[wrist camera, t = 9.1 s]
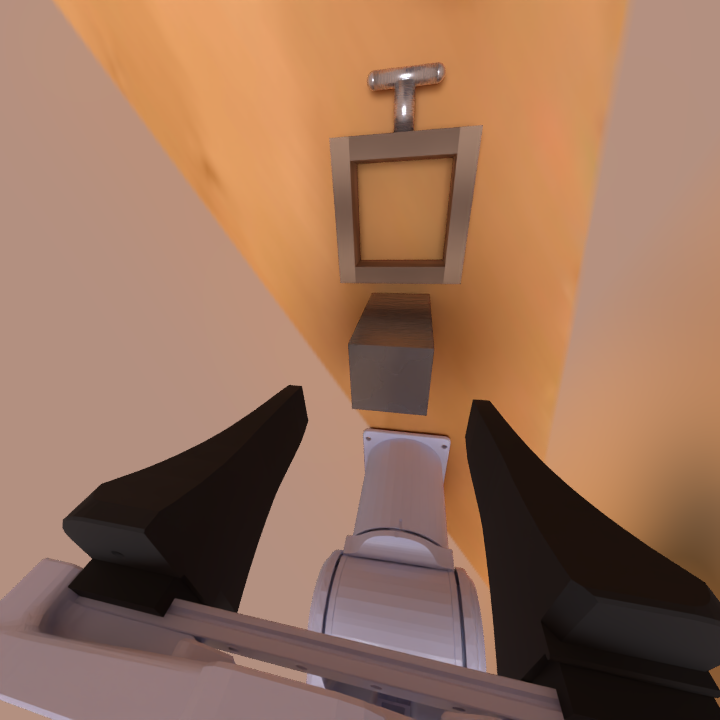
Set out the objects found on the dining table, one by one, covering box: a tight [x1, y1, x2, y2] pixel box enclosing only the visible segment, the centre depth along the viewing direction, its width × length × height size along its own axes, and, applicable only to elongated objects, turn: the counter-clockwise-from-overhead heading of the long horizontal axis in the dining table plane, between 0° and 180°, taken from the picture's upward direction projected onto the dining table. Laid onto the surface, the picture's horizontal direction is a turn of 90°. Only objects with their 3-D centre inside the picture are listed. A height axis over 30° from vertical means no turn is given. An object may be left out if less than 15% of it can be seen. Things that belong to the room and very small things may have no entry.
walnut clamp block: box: [329, 62, 483, 284], centre depth 16 cm, size 10×7×2 cm
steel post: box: [348, 293, 434, 416], centre depth 17 cm, size 4×4×8 cm
